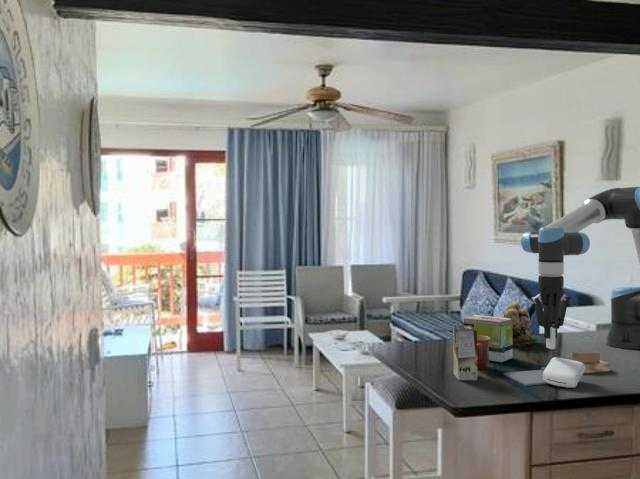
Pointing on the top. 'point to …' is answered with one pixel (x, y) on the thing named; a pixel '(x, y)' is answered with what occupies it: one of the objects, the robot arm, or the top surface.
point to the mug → (482, 351)
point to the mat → (528, 377)
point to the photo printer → (563, 372)
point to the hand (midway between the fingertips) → (550, 348)
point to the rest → (597, 367)
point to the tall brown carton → (586, 357)
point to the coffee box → (465, 352)
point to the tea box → (494, 335)
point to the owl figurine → (519, 325)
